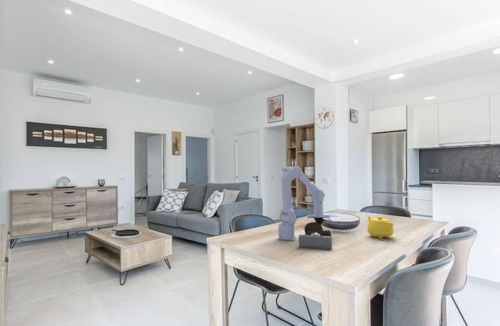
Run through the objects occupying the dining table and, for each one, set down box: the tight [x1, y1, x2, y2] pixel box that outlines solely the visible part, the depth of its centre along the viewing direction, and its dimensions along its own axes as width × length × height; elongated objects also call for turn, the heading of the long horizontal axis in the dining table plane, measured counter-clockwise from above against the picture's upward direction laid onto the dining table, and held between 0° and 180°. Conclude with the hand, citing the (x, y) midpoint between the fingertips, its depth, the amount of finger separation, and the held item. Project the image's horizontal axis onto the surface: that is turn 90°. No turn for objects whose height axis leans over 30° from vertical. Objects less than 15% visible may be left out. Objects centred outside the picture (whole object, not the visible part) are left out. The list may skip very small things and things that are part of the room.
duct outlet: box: [298, 233, 333, 250], centre depth 148 cm, size 17×5×7 cm, turn 73°
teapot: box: [366, 214, 394, 240], centre depth 168 cm, size 13×20×12 cm
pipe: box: [303, 221, 332, 236], centre depth 162 cm, size 10×15×15 cm
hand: (318, 229), depth 178 cm, fingers closed
